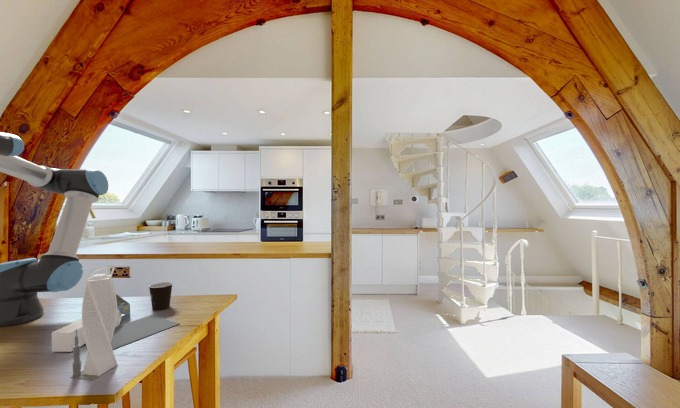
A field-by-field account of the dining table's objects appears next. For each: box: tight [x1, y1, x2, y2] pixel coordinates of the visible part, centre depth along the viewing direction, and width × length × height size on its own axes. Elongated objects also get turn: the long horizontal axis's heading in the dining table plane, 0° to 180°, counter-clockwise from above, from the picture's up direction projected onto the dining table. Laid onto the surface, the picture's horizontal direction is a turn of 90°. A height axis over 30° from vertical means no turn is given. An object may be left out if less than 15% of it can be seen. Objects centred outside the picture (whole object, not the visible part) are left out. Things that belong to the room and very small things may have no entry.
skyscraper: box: [70, 265, 118, 381], centre depth 80 cm, size 8×8×28 cm
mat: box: [111, 314, 180, 350], centre depth 104 cm, size 18×24×1 cm
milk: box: [51, 310, 125, 353], centre depth 101 cm, size 6×6×22 cm
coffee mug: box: [148, 281, 173, 312], centre depth 129 cm, size 12×9×10 cm
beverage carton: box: [116, 293, 131, 321], centre depth 120 cm, size 8×19×7 cm, turn 51°
